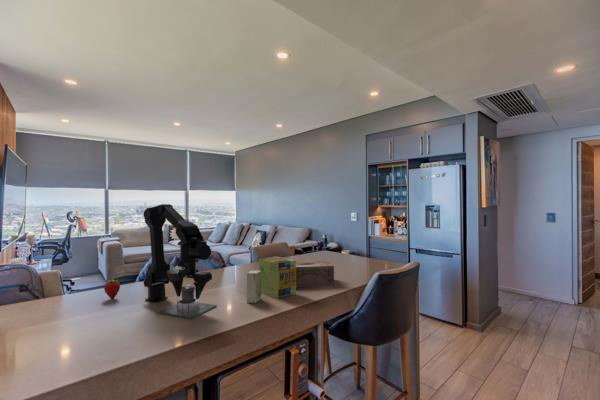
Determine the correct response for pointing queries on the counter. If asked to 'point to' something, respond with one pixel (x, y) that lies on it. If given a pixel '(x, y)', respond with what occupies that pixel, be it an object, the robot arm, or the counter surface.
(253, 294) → the skincare box
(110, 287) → the strawberry
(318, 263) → the tissue box cover
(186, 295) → the plug
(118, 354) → the counter surface
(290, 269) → the protein box
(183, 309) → the barrel stand
